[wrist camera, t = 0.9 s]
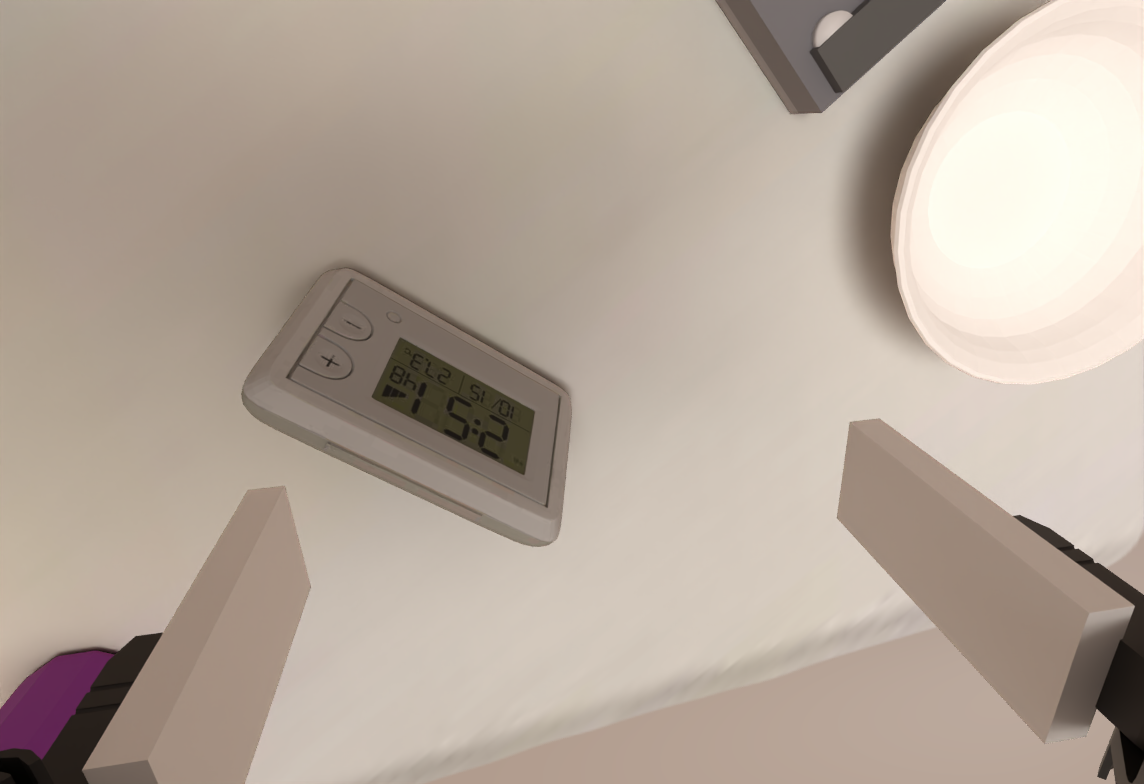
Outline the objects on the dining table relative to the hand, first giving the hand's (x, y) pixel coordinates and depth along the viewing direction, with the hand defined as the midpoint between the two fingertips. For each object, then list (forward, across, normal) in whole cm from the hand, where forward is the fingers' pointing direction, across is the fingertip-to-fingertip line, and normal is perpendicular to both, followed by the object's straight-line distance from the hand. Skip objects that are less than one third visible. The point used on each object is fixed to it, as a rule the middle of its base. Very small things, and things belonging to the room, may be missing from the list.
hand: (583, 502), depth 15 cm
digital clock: (+24, -5, -5) cm, 25 cm away
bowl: (+24, +29, +3) cm, 37 cm away
